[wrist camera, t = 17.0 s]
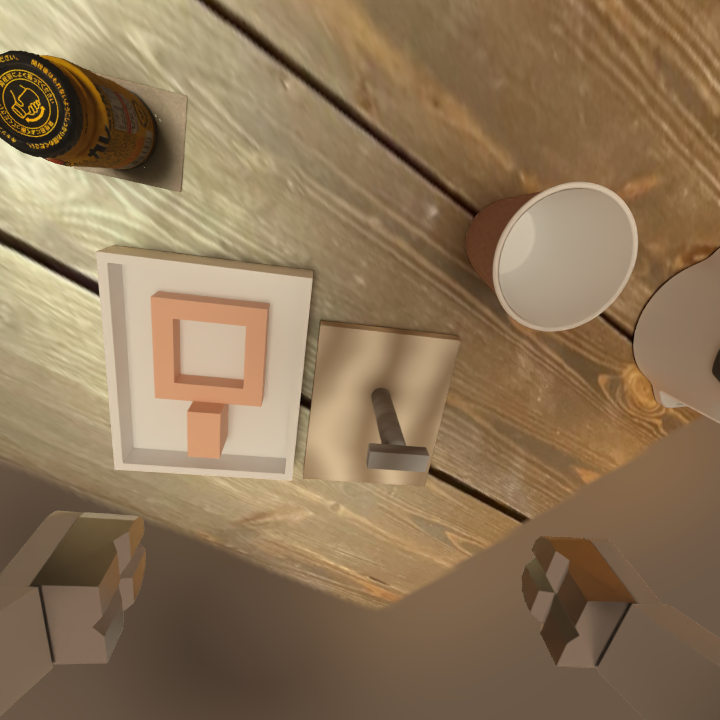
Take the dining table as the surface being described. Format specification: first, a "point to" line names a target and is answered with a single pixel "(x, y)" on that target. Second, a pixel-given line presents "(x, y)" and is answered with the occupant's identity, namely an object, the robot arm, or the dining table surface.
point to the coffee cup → (555, 253)
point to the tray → (201, 361)
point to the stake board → (352, 402)
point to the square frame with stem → (207, 392)
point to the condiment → (91, 120)
